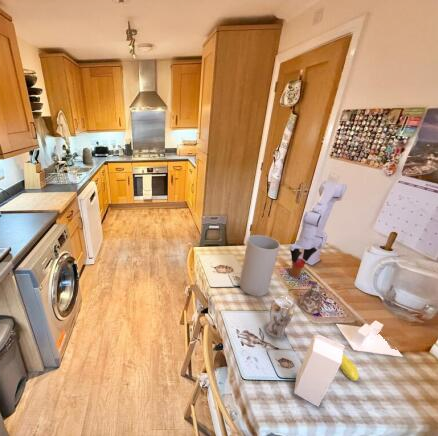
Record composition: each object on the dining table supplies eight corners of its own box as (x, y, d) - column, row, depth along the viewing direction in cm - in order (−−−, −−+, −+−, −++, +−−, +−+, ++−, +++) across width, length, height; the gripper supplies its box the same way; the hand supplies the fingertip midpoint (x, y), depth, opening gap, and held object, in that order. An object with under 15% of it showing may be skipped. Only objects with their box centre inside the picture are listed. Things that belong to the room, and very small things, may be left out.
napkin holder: (354, 350, 80) (360, 339, 77) (335, 323, 90) (340, 312, 87) (404, 356, 77) (412, 345, 75) (378, 328, 88) (385, 317, 85)
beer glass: (283, 327, 88) (293, 297, 82) (287, 342, 82) (298, 311, 76) (263, 322, 90) (272, 293, 84) (265, 337, 85) (274, 306, 78)
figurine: (299, 309, 96) (307, 287, 91) (298, 298, 102) (306, 277, 97) (320, 316, 93) (329, 293, 88) (317, 304, 99) (326, 282, 94)
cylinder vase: (238, 292, 106) (247, 246, 95) (239, 276, 116) (248, 233, 106) (268, 300, 101) (281, 252, 91) (266, 282, 112) (278, 237, 101)
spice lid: (293, 260, 117) (294, 256, 116) (305, 264, 114) (306, 260, 113) (290, 265, 114) (291, 260, 113) (302, 269, 111) (303, 265, 110)
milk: (296, 376, 72) (317, 325, 63) (319, 389, 69) (345, 337, 60) (293, 393, 67) (315, 341, 58) (318, 408, 64) (346, 355, 55)
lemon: (344, 381, 70) (349, 373, 69) (331, 357, 77) (335, 349, 76) (360, 384, 70) (365, 376, 68) (345, 359, 77) (349, 351, 75)
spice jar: (291, 271, 119) (295, 258, 116) (300, 275, 117) (304, 261, 113) (288, 275, 117) (292, 261, 113) (298, 279, 114) (302, 265, 111)
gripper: (312, 231, 112) (305, 254, 118) (287, 234, 110) (280, 257, 115) (325, 237, 106) (317, 262, 112) (298, 241, 103) (291, 266, 109)
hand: (299, 260), depth 113 cm, fingers open, 6 cm apart
